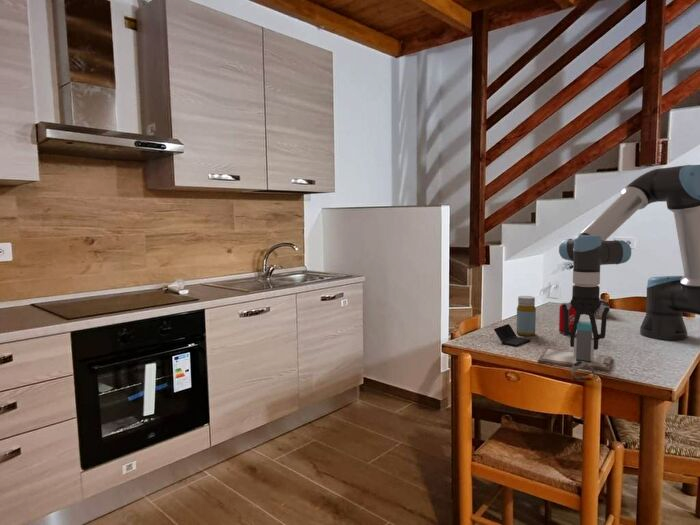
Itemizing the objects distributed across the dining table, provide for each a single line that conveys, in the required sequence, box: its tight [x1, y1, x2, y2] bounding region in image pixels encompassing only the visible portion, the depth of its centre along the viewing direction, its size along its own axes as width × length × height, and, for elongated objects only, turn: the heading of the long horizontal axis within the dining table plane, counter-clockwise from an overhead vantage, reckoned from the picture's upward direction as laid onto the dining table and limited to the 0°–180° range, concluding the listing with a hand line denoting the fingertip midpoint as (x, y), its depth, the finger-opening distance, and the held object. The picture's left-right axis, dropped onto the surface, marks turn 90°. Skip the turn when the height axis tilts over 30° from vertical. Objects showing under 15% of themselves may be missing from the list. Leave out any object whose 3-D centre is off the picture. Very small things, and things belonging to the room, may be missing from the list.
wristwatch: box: [570, 361, 596, 380], centre depth 133 cm, size 4×6×5 cm, turn 85°
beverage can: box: [558, 302, 576, 335], centre depth 184 cm, size 6×6×12 cm
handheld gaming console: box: [493, 323, 531, 348], centre depth 173 cm, size 12×7×10 cm
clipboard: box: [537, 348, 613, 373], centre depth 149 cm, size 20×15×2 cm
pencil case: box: [594, 297, 611, 319], centre depth 219 cm, size 22×8×10 cm, turn 167°
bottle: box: [516, 295, 537, 337], centre depth 183 cm, size 7×7×15 cm
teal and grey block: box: [576, 320, 593, 363], centre depth 146 cm, size 4×4×12 cm
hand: (583, 358), depth 146 cm, fingers closed on teal and grey block, 4 cm apart
